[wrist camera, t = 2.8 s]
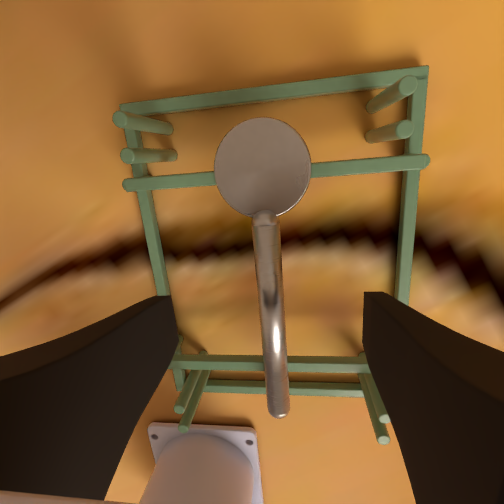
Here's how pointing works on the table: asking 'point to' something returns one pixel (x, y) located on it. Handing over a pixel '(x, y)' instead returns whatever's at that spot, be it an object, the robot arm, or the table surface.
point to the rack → (410, 163)
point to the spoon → (266, 224)
